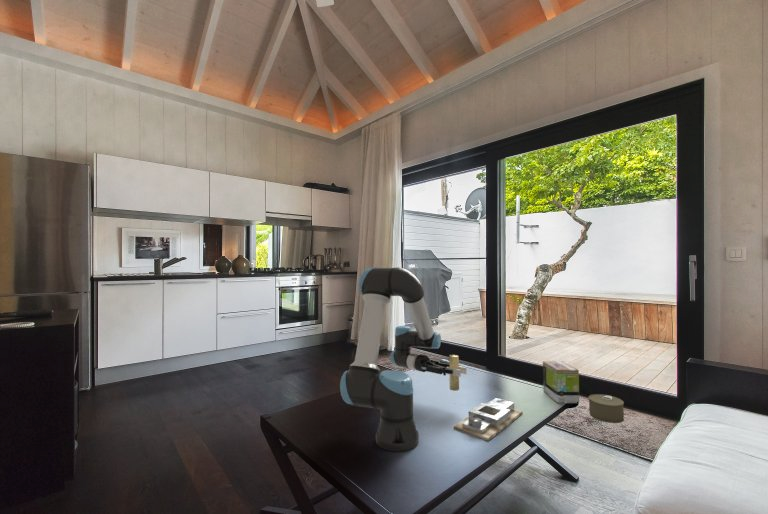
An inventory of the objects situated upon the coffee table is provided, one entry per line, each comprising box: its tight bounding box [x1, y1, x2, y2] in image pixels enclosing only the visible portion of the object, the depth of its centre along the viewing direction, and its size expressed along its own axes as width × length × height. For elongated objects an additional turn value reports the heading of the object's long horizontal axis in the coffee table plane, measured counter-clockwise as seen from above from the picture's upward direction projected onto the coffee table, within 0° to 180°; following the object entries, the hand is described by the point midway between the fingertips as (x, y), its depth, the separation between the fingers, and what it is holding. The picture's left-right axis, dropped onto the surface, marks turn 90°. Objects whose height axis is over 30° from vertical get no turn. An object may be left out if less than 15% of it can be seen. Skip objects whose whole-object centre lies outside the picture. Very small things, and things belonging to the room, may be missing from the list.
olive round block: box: [588, 393, 625, 424], centre depth 139 cm, size 12×12×7 cm
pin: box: [448, 354, 460, 392], centre depth 149 cm, size 4×4×14 cm
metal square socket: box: [462, 397, 515, 434], centre depth 137 cm, size 28×12×3 cm, turn 137°
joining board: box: [453, 408, 524, 442], centre depth 137 cm, size 30×14×1 cm, turn 137°
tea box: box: [542, 360, 580, 404], centre depth 161 cm, size 15×10×15 cm, turn 179°
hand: (463, 372), depth 146 cm, fingers closed on pin, 4 cm apart
